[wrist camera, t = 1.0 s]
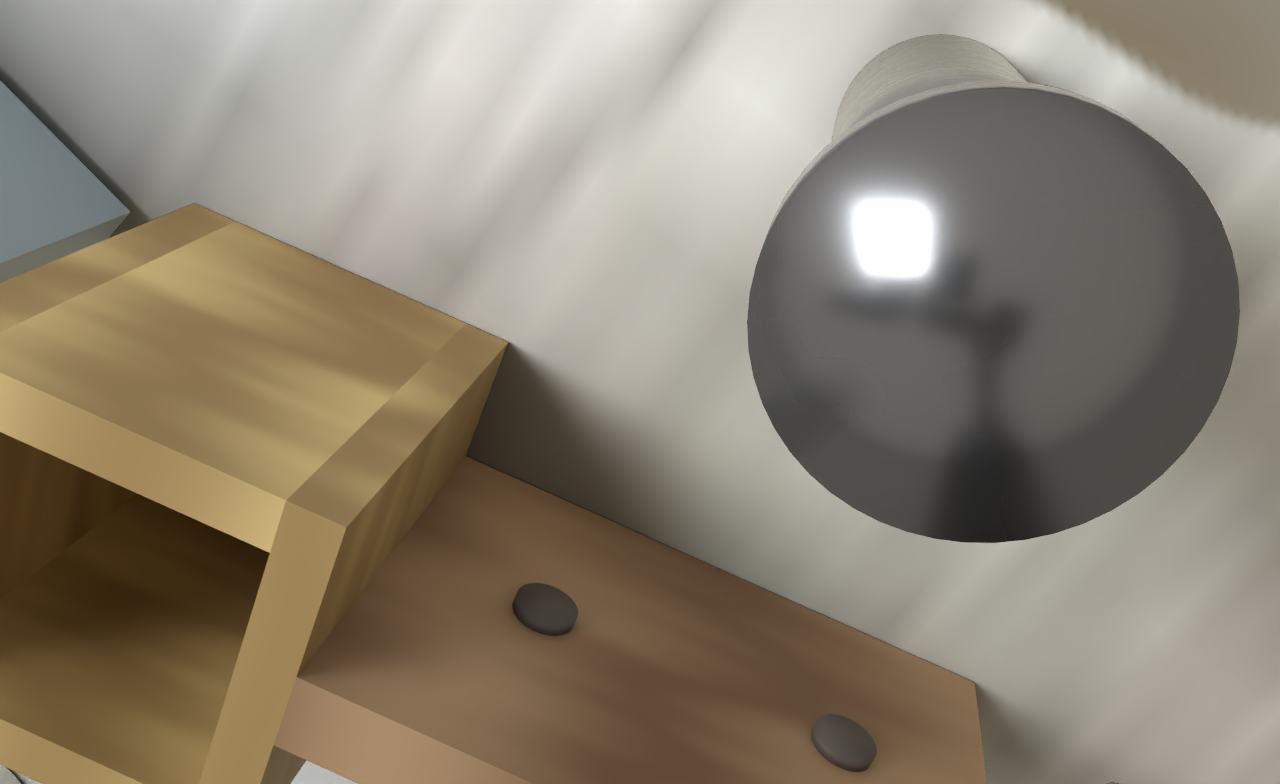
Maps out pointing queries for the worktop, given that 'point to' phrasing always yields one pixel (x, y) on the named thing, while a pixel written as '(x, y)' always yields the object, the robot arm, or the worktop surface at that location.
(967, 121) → the hinge pin
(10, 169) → the swing leaf
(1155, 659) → the worktop surface
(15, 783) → the skincare box
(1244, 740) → the worktop surface
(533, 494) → the knuckle leaf
